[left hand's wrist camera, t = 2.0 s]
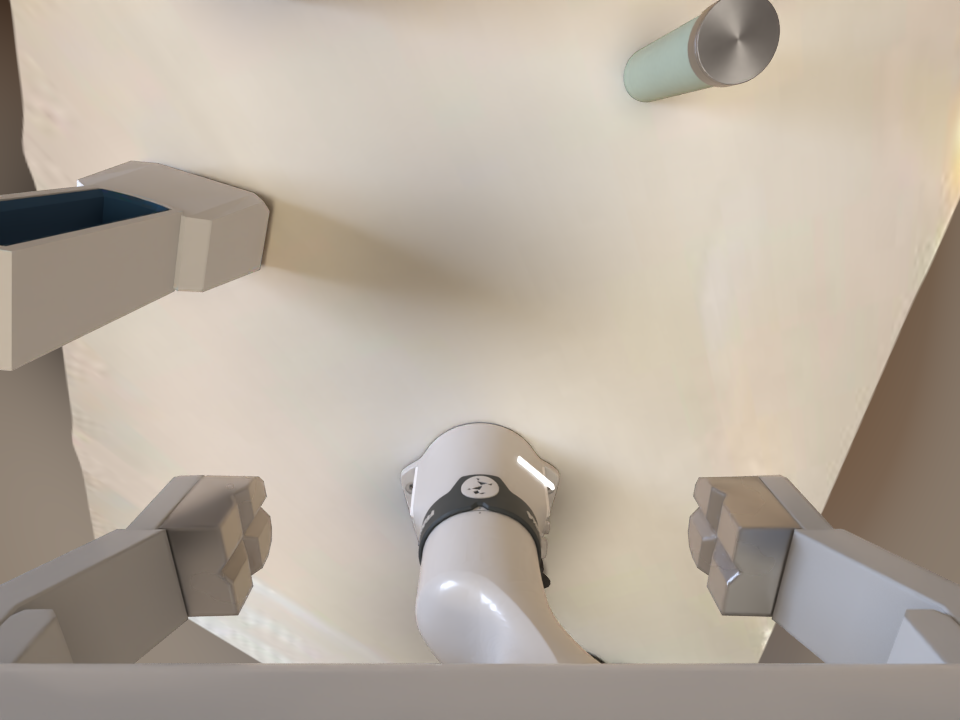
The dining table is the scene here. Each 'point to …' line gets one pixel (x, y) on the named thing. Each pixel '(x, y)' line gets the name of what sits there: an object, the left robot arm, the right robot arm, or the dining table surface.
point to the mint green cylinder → (663, 68)
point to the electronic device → (116, 250)
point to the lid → (733, 41)
